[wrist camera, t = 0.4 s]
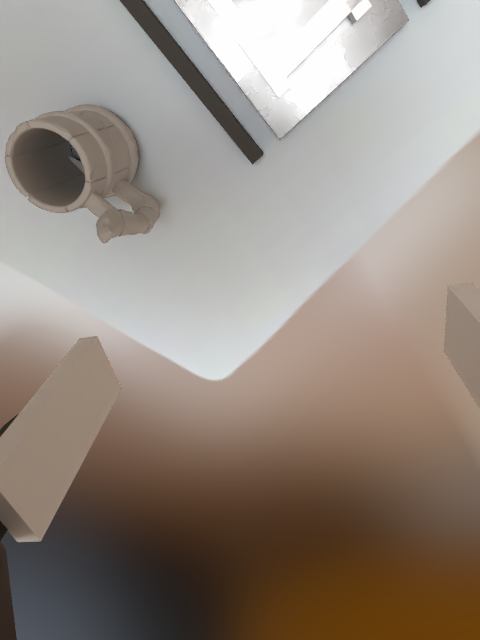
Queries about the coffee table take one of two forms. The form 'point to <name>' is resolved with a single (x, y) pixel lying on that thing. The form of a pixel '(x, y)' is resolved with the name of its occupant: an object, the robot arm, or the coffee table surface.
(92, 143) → the mug
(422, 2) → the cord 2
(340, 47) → the breaker panel
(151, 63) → the coffee table surface
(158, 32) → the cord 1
